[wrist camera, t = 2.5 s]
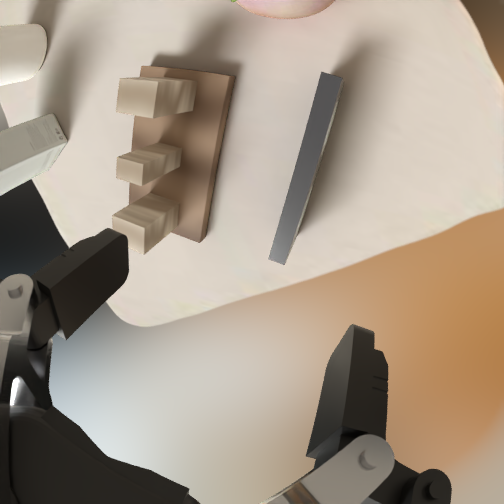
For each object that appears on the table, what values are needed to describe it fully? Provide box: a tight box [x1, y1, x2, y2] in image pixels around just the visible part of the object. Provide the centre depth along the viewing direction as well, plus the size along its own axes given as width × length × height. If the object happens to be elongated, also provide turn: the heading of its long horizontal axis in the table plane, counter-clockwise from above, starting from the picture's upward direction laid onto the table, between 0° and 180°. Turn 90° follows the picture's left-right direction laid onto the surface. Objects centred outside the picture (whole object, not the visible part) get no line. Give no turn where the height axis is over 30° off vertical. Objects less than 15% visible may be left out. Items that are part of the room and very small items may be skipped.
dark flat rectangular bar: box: [268, 72, 344, 265], centre depth 24 cm, size 16×2×6 cm, turn 167°
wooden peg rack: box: [112, 66, 235, 255], centre depth 27 cm, size 18×10×8 cm, turn 167°
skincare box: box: [0, 114, 67, 195], centre depth 29 cm, size 8×6×15 cm
